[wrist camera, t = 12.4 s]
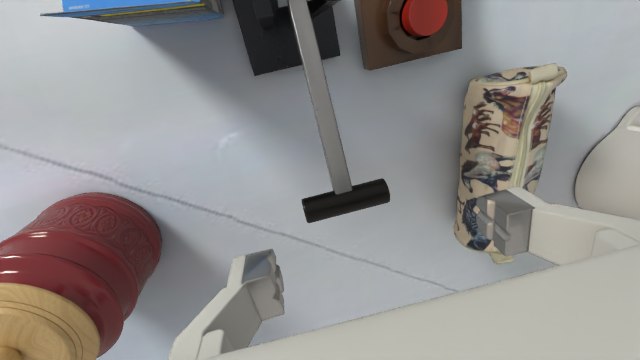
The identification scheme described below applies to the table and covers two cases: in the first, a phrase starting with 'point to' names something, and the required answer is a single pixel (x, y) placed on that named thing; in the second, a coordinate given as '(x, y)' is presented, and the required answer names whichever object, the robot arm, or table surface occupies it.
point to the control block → (401, 34)
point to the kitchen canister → (74, 277)
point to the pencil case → (502, 142)
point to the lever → (328, 130)
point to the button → (424, 16)
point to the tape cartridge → (140, 11)
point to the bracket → (282, 33)
